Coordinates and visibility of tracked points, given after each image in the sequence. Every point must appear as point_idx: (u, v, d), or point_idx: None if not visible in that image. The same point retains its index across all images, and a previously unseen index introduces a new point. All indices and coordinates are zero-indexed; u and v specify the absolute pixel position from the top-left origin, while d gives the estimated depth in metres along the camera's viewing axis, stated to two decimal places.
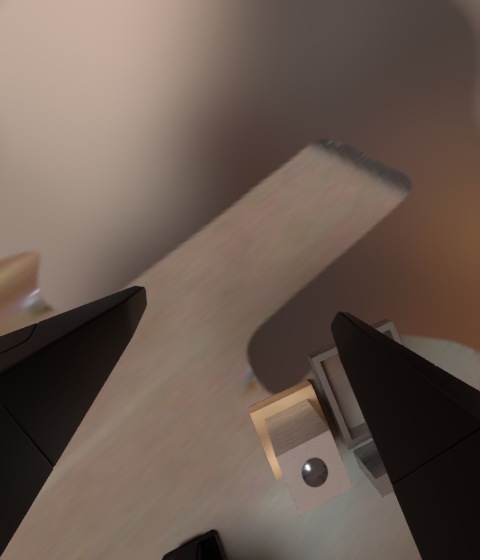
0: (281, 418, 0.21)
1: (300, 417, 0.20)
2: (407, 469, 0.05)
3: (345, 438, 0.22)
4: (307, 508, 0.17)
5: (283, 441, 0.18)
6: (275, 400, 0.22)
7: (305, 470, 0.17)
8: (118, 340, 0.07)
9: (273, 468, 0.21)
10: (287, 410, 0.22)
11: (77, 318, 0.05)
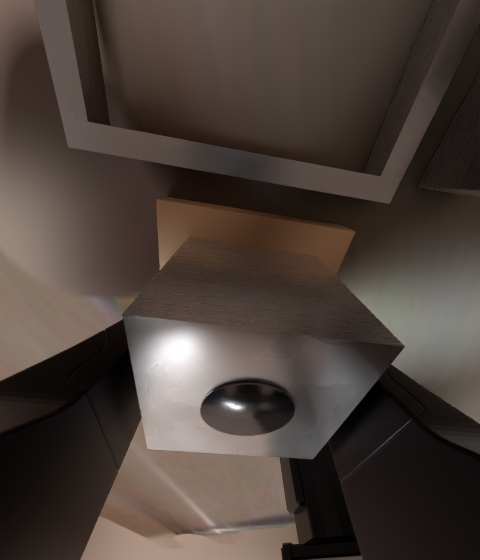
0: None
1: None
2: (352, 465, 0.05)
3: (358, 193, 0.07)
4: (315, 447, 0.06)
5: None
6: None
7: (224, 422, 0.05)
8: None
9: None
10: None
11: None
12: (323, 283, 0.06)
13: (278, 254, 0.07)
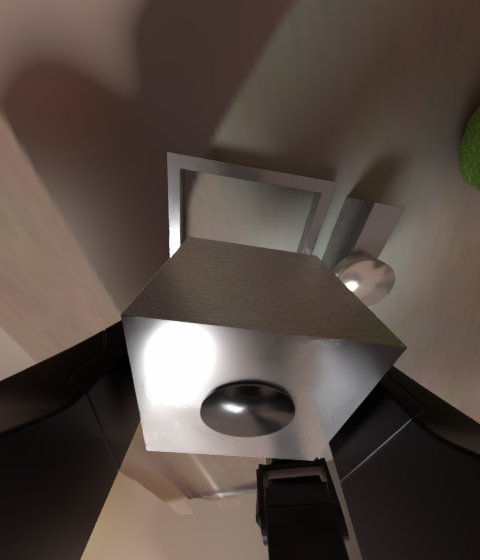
0: None
1: None
2: (352, 465, 0.05)
3: None
4: (315, 448, 0.06)
5: None
6: None
7: (224, 423, 0.05)
8: None
9: None
10: None
11: None
12: (324, 283, 0.06)
13: (278, 254, 0.07)
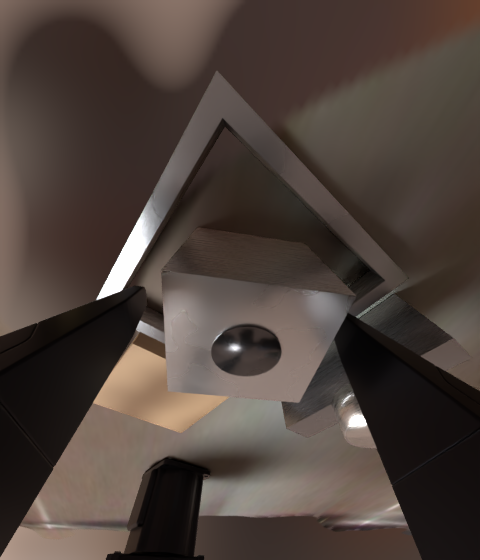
0: None
1: None
2: (407, 469, 0.05)
3: None
4: (299, 389, 0.08)
5: None
6: None
7: (228, 365, 0.07)
8: (118, 340, 0.07)
9: (168, 428, 0.16)
10: None
11: (77, 318, 0.05)
12: (306, 260, 0.07)
13: (272, 241, 0.09)
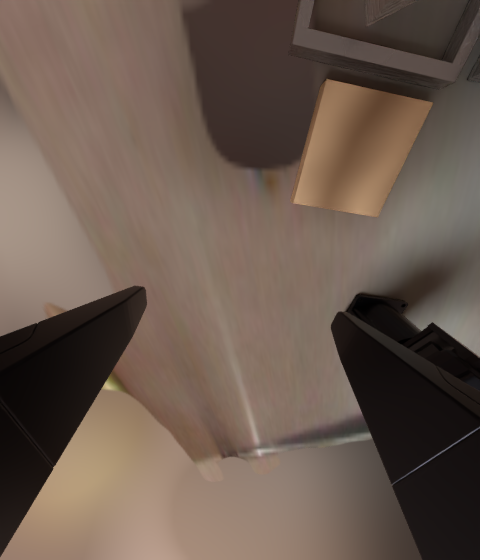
0: None
1: None
2: (407, 469, 0.05)
3: (438, 75, 0.13)
4: None
5: None
6: (304, 159, 0.15)
7: None
8: (118, 340, 0.07)
9: (365, 213, 0.17)
10: None
11: (77, 318, 0.05)
12: None
13: None
